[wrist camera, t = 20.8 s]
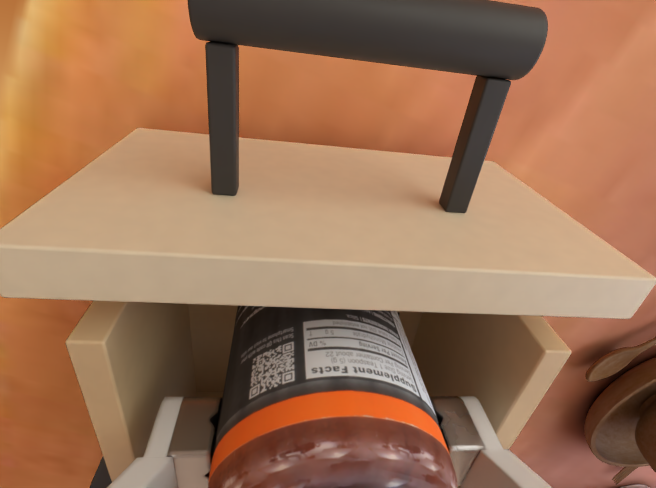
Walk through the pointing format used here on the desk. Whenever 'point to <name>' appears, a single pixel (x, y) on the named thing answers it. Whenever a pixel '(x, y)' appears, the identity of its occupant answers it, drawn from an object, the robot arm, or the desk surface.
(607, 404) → the place setting
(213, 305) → the drawer
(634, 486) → the soda can
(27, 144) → the desk surface
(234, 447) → the supplement bottle
